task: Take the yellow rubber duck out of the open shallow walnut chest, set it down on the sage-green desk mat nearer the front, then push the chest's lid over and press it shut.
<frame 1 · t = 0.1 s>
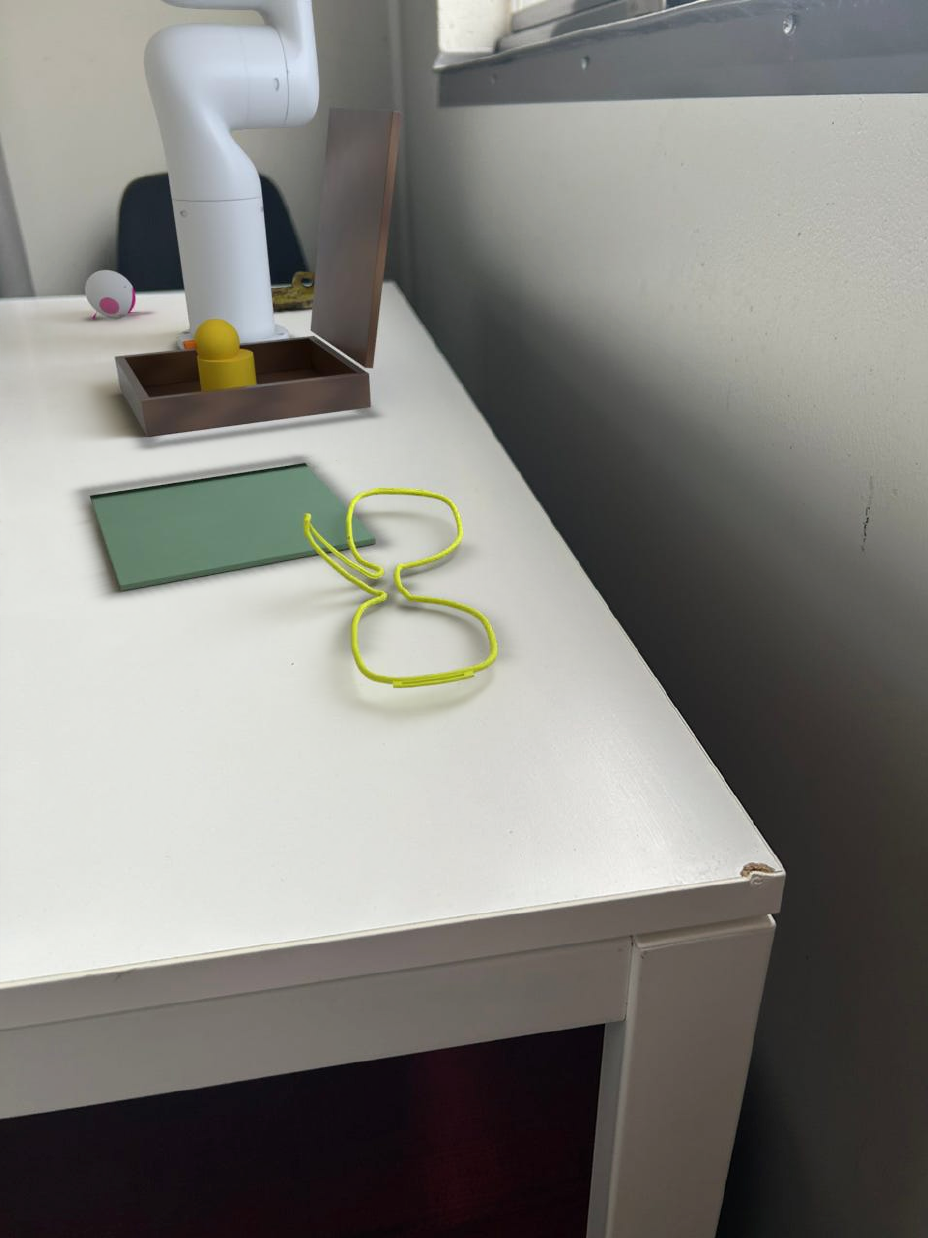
lid: (350, 234, 89), point 14 cm above the table, hinge at 100.0°
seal: (274, 306, 133), on the table
chest: (242, 405, 92), on the table
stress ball: (119, 317, 128), on the table
mat: (222, 515, 68), on the table
duck: (230, 398, 91), point 1 cm above the table, touching chest
glasses: (393, 589, 58), on the table, touching mat
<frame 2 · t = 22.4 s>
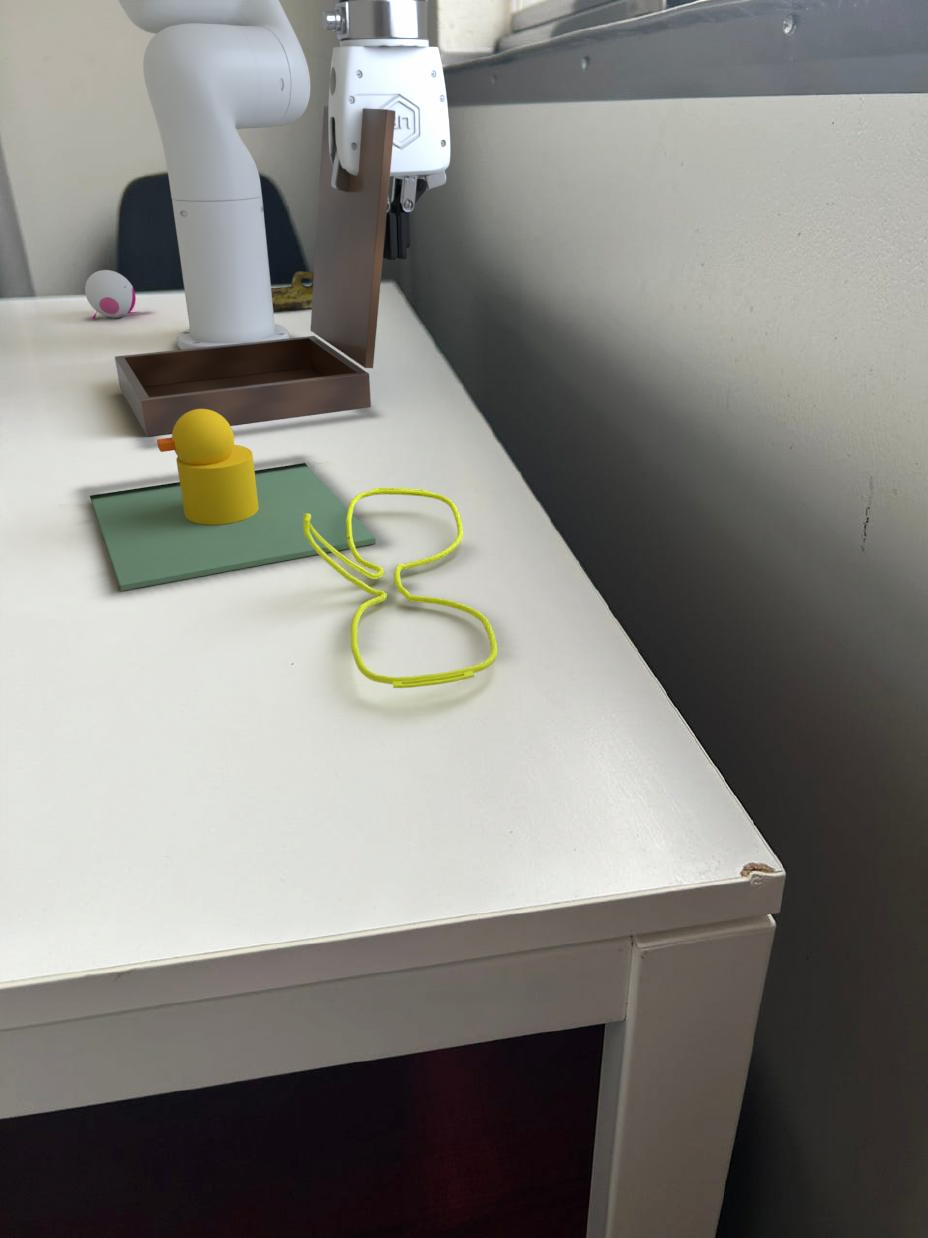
hand: (392, 256, 92), 12 cm above the table, tool pointing down, fingers closed
lid: (347, 233, 89), point 14 cm above the table, hinge at 98.5°, touching gripper
duck: (222, 510, 68), resting on mat
everything else where it was.
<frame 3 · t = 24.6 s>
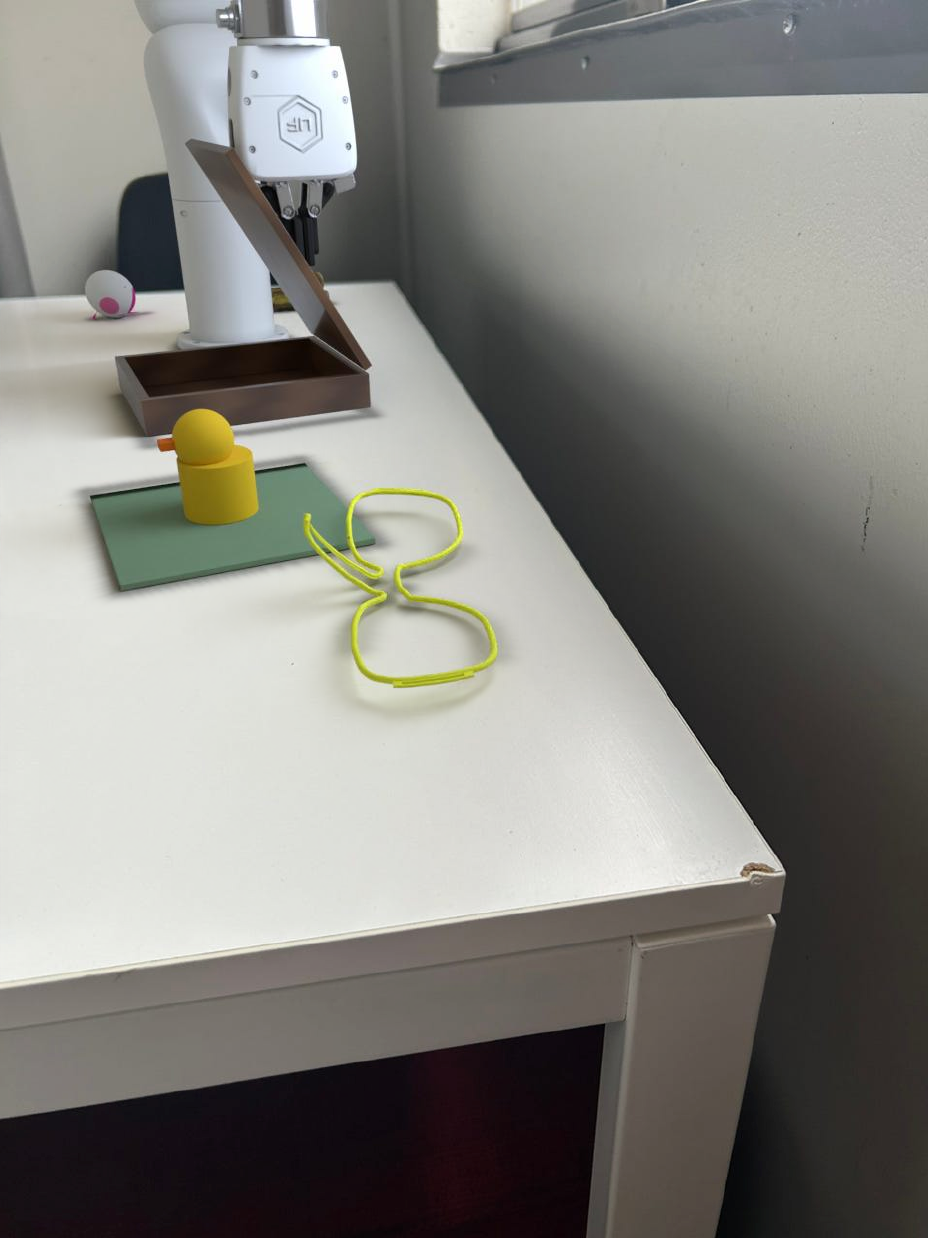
hand: (301, 263, 89), 12 cm above the table, tool pointing down, fingers closed
lid: (277, 253, 87), point 13 cm above the table, hinge at 60.0°, touching gripper
everything else where it was.
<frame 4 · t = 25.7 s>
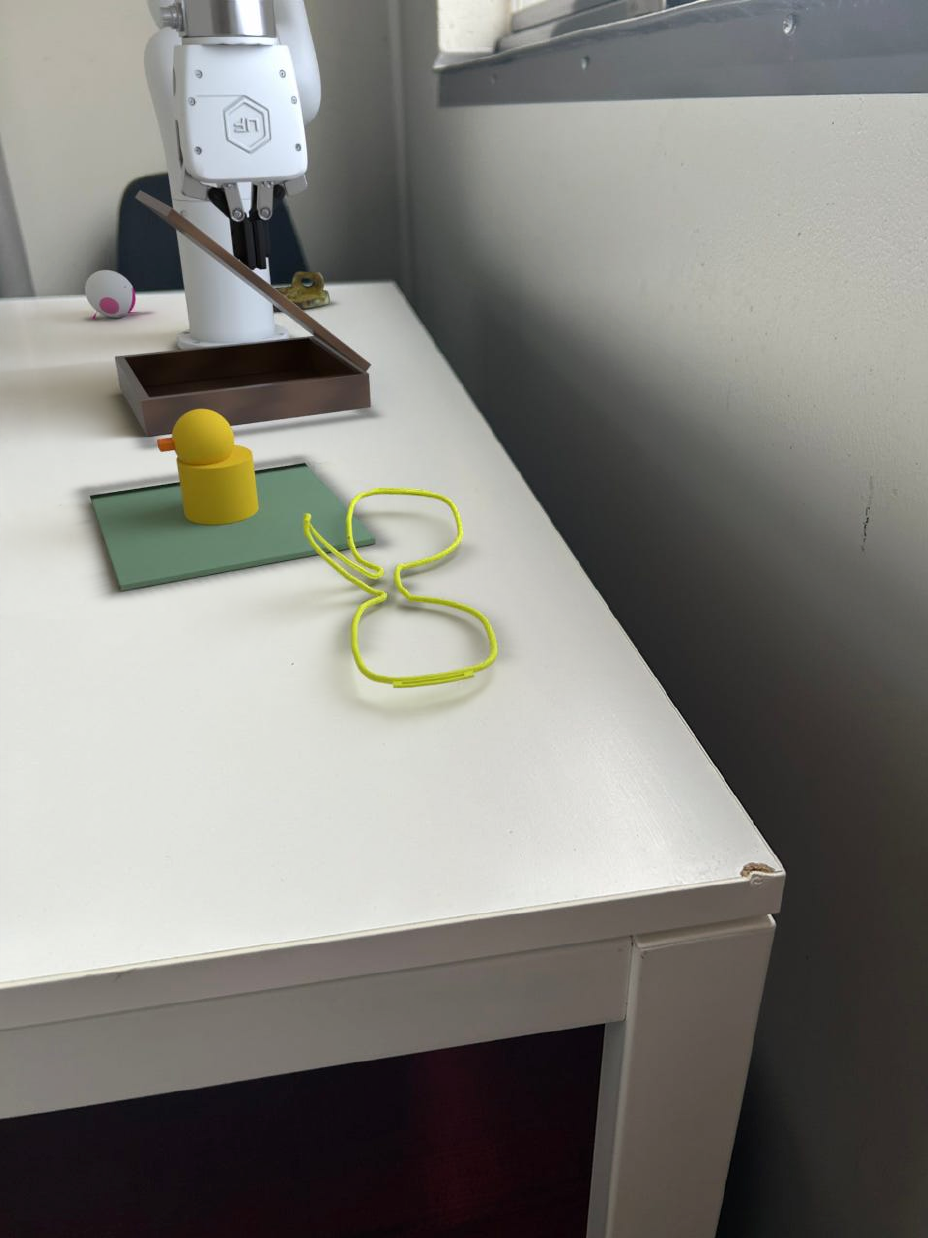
hand: (253, 267, 87), 12 cm above the table, tool pointing down, fingers closed
lid: (252, 280, 87), point 11 cm above the table, hinge at 41.6°
everything else where it was.
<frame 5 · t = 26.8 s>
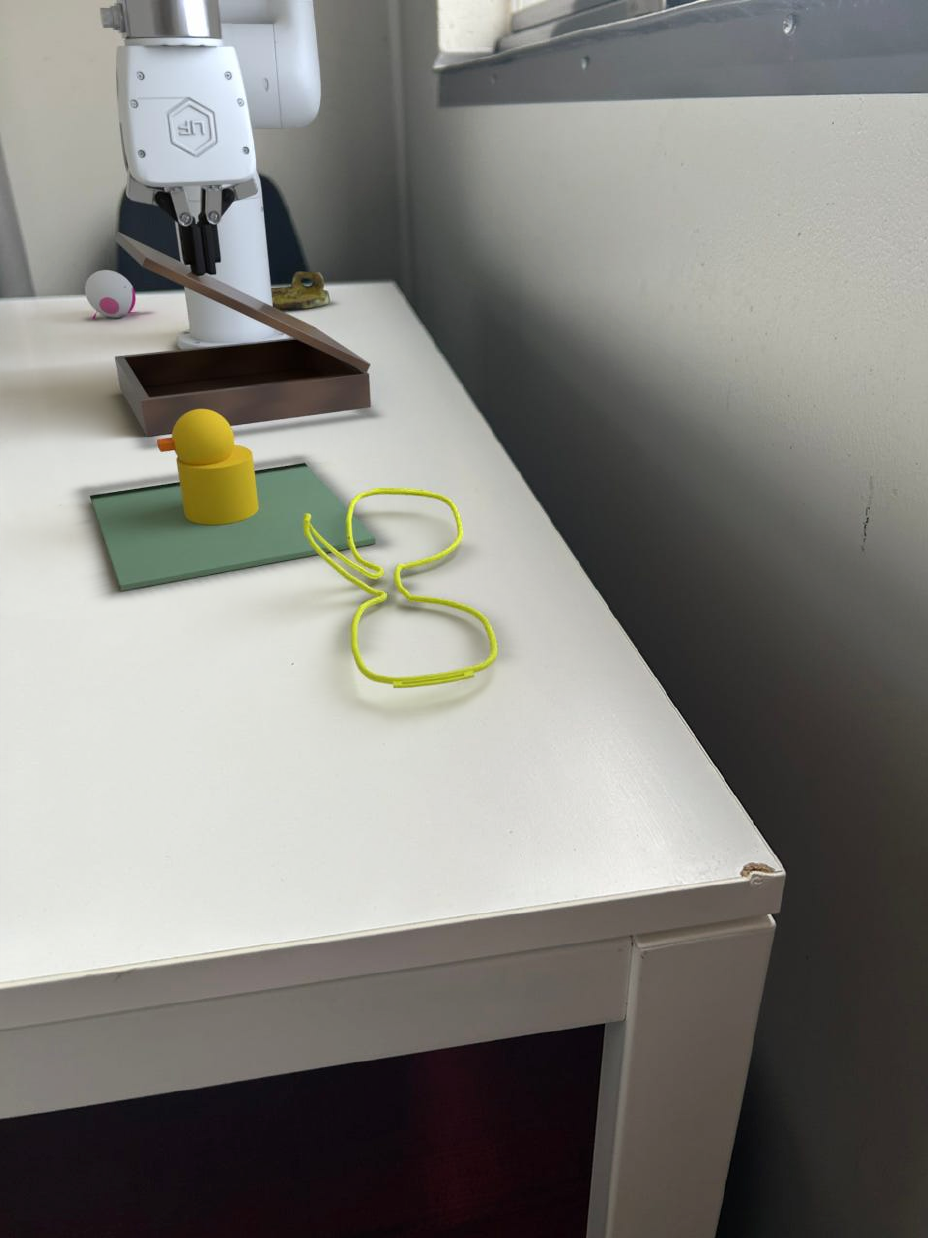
hand: (203, 272, 85), 12 cm above the table, tool pointing down, fingers closed
lid: (240, 301, 88), point 9 cm above the table, hinge at 29.9°
everything else where it was.
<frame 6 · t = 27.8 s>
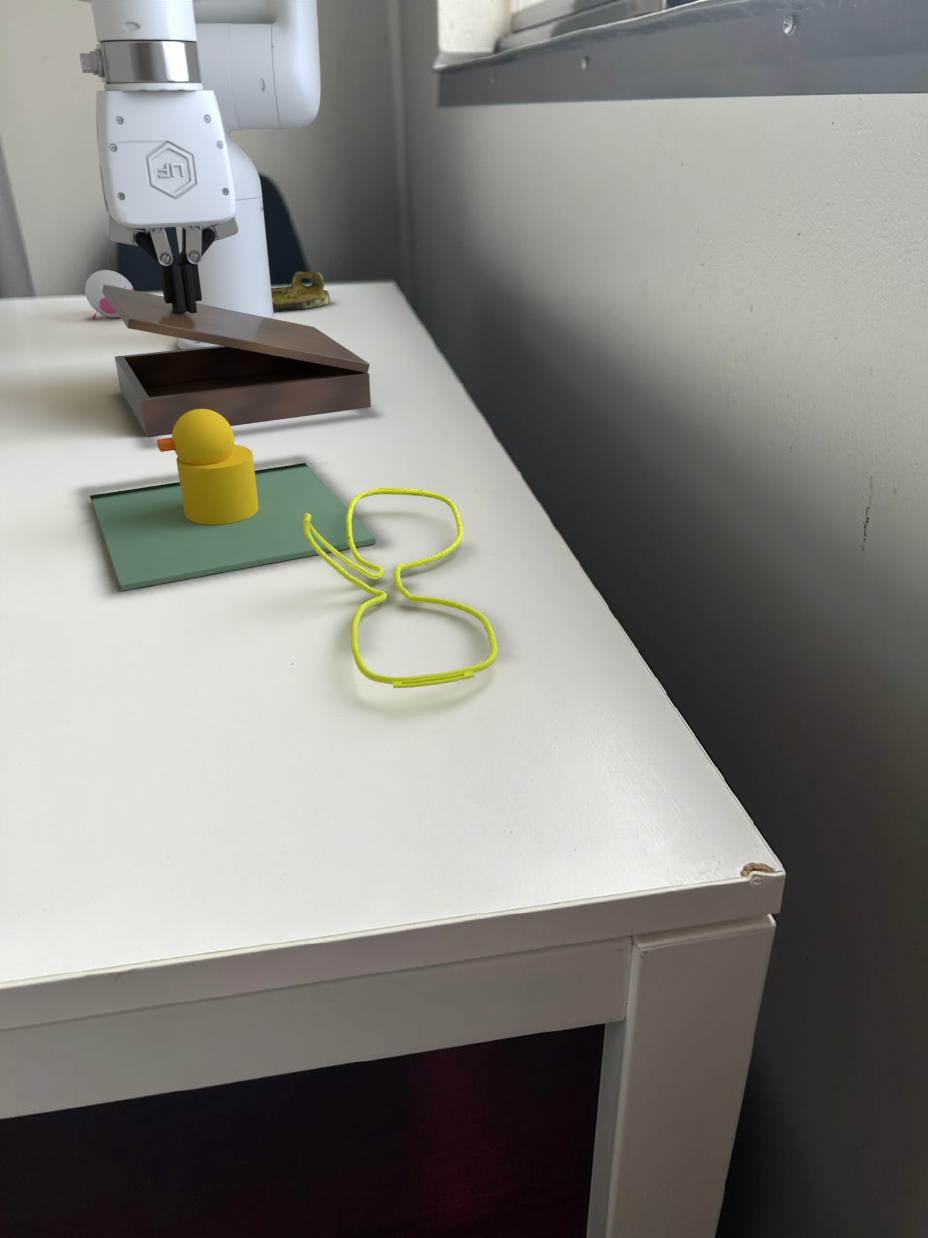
hand: (184, 310, 86), 9 cm above the table, tool pointing down, fingers closed
lid: (233, 327, 89), point 7 cm above the table, hinge at 16.3°, touching gripper
everything else where it was.
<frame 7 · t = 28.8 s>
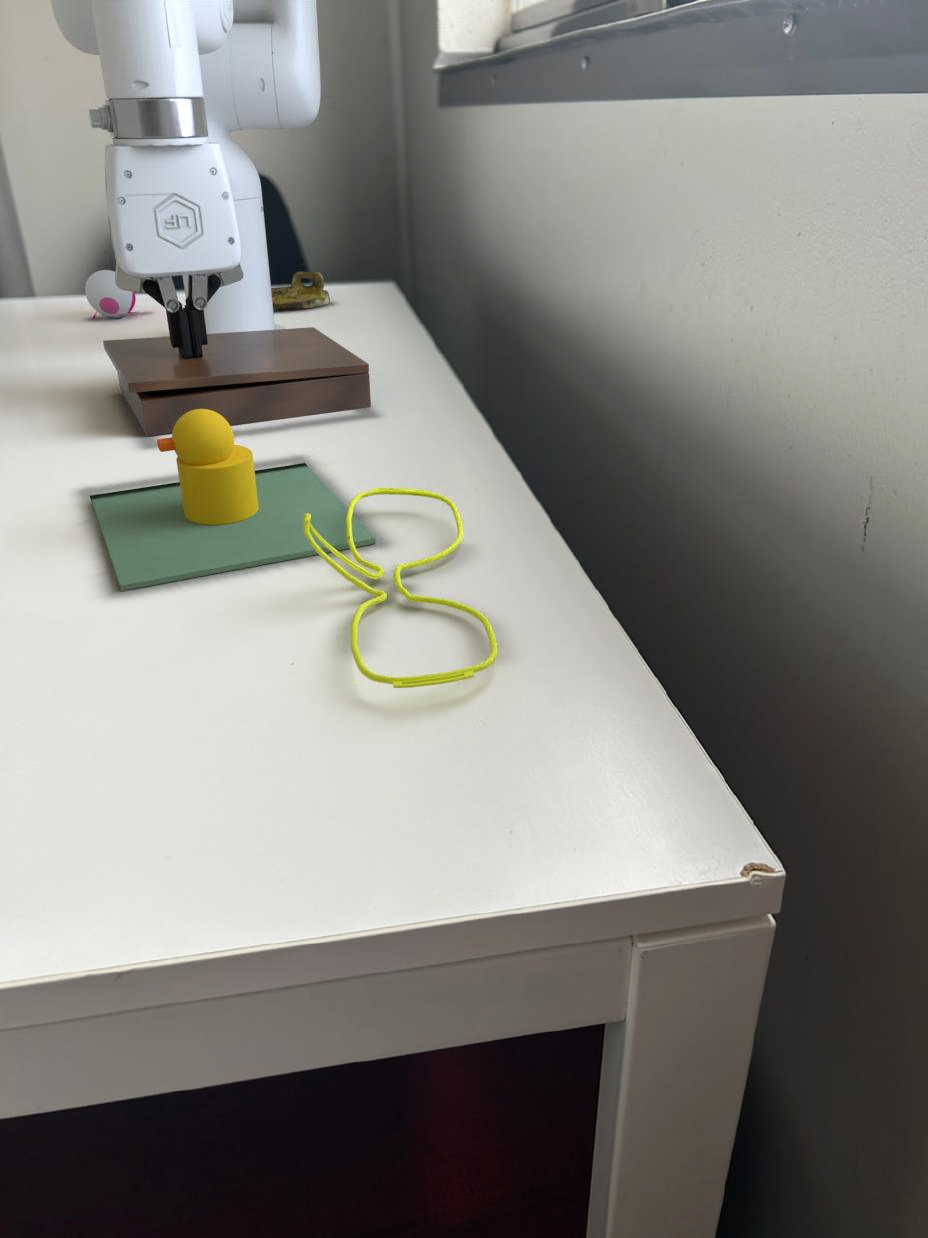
hand: (190, 354, 88), 5 cm above the table, tool pointing down, fingers closed
lid: (232, 356, 90), point 5 cm above the table, hinge at 2.0°, touching gripper
everything else where it was.
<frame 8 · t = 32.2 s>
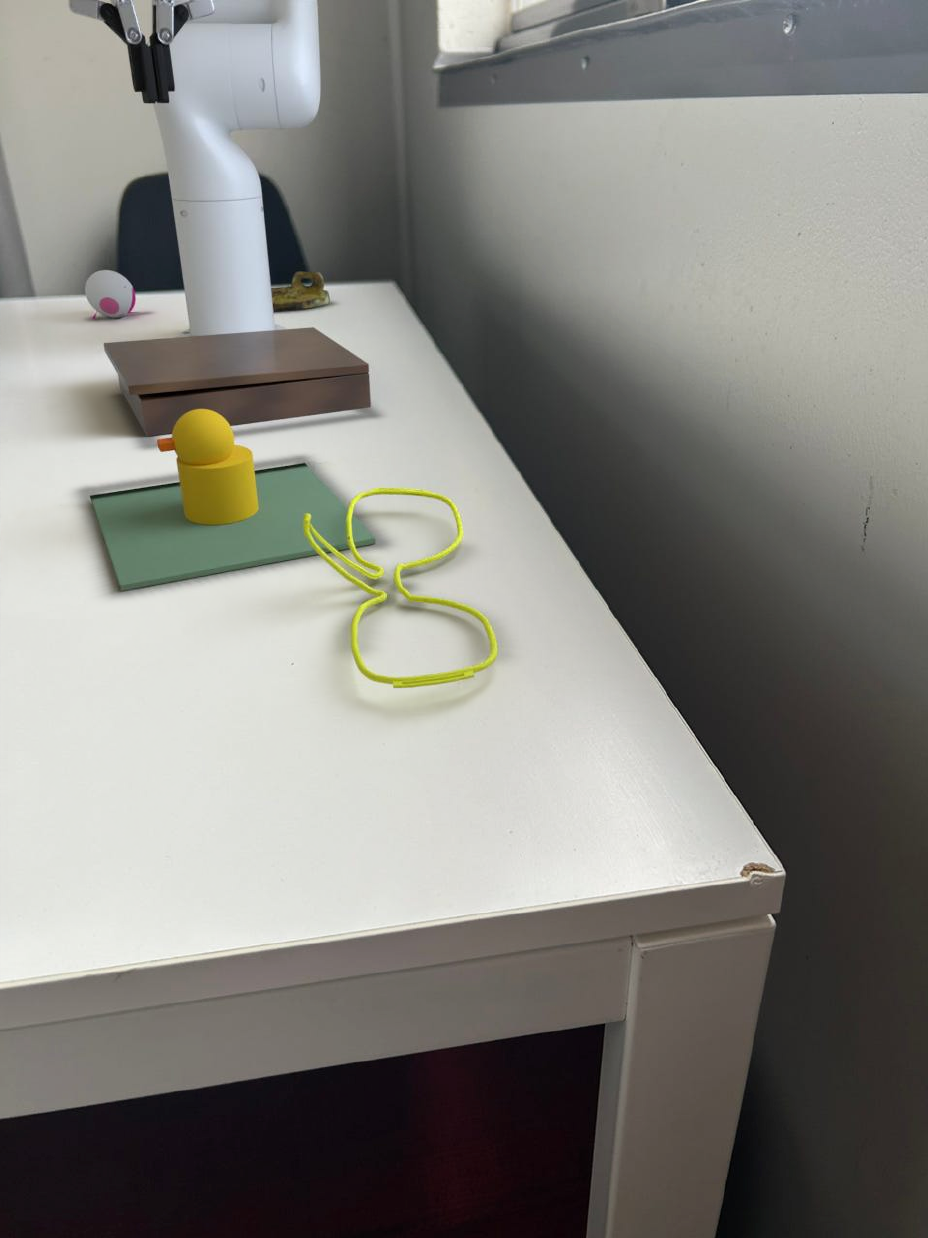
hand: (156, 102, 78), 25 cm above the table, tool pointing down, fingers closed
lid: (232, 357, 90), point 4 cm above the table, hinge at 1.4°
everything else where it was.
at the end: duck inside the target area on the mat (0.1 cm from its centre), point 0.4 cm above the mat's base; duck tilted 0°; lid at +1° (first picture: +100°) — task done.
